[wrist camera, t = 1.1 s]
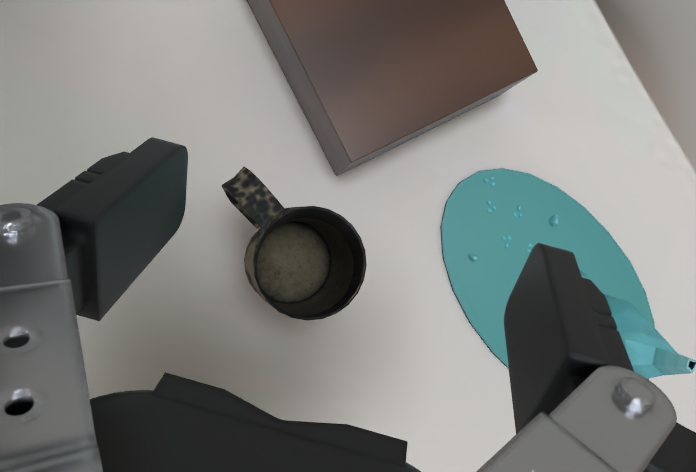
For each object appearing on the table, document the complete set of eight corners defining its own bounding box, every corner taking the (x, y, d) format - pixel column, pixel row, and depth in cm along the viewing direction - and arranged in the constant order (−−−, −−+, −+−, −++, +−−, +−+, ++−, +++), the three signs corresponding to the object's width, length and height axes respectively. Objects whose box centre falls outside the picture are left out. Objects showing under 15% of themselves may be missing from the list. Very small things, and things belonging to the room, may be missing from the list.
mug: (350, 266, 35) (406, 270, 24) (287, 325, 34) (312, 360, 23) (268, 173, 35) (283, 129, 23) (200, 231, 34) (179, 216, 22)
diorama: (518, 126, 38) (598, 88, 30) (691, 333, 40) (811, 353, 32) (395, 243, 36) (443, 238, 28) (583, 456, 38) (681, 512, 30)
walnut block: (242, -7, 35) (243, -51, 30) (416, -78, 37) (443, -129, 32) (335, 176, 35) (351, 163, 31) (499, 95, 38) (538, 70, 33)
